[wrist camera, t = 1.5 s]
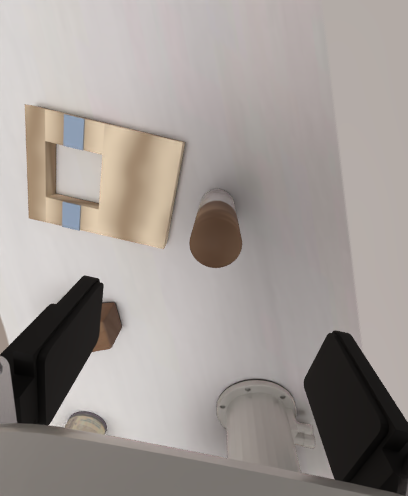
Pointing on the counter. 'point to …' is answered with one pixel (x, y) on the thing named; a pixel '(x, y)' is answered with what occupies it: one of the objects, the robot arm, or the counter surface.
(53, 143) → the board
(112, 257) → the counter surface
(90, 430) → the aerosol can
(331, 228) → the counter surface
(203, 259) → the two-tone cylinder
